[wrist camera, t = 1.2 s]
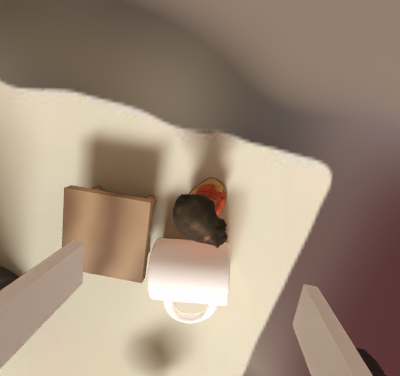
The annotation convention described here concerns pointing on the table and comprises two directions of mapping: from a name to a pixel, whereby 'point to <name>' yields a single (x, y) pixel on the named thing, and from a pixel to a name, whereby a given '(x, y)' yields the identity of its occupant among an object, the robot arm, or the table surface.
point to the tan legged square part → (109, 230)
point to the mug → (189, 276)
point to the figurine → (202, 213)
